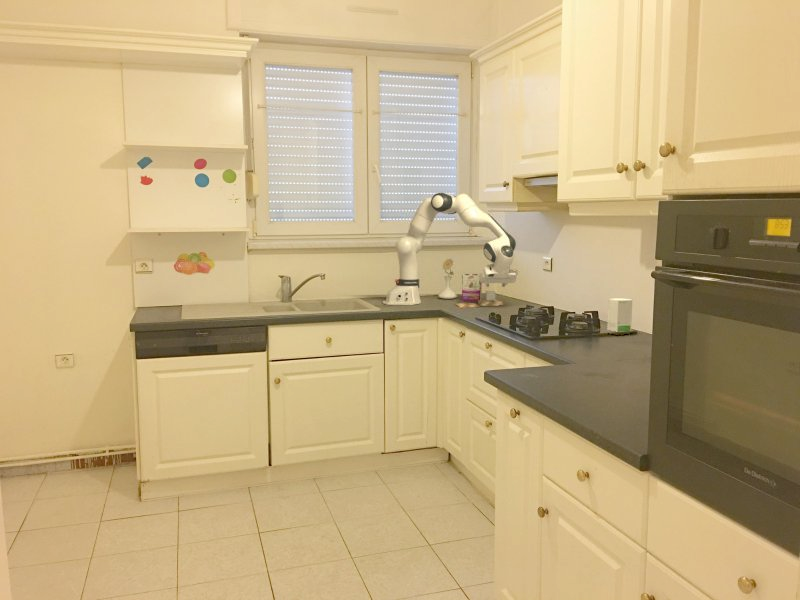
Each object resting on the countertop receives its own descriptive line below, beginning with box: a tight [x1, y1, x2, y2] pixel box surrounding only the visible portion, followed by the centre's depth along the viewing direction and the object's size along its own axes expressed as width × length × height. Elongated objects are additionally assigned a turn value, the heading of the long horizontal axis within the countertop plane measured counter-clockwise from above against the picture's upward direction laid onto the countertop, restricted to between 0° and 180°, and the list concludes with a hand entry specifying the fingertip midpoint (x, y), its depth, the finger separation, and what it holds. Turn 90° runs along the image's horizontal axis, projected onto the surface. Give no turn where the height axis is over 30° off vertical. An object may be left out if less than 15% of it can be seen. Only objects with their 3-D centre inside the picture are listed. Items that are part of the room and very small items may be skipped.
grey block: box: [484, 290, 496, 301], centre depth 382 cm, size 5×2×8 cm, turn 99°
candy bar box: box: [461, 273, 483, 302], centre depth 399 cm, size 11×5×16 cm, turn 73°
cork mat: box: [454, 302, 481, 308], centre depth 379 cm, size 12×12×1 cm
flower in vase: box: [438, 258, 458, 300], centre depth 408 cm, size 13×11×25 cm
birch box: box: [477, 299, 504, 307], centre depth 382 cm, size 13×7×2 cm, turn 98°
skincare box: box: [606, 297, 633, 332], centre depth 289 cm, size 8×7×16 cm
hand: (495, 286), depth 372 cm, fingers open, 8 cm apart
